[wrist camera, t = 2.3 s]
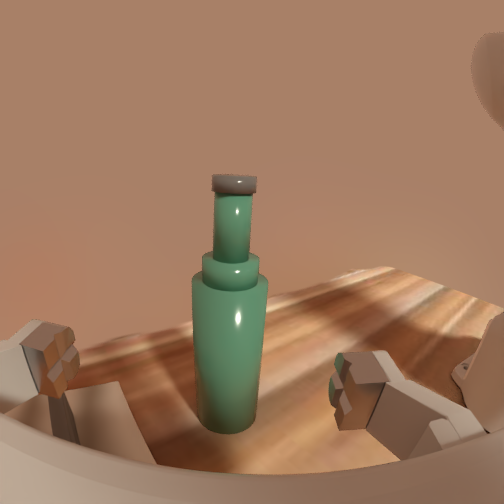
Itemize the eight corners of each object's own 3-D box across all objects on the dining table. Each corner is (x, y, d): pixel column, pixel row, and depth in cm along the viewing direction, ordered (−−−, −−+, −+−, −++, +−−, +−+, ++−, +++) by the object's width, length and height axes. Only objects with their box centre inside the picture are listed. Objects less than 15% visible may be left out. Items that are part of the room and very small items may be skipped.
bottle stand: (120, 389, 26) (110, 347, 24) (179, 505, 15) (169, 471, 13) (-47, 412, 15) (-70, 370, 13) (-52, 527, 4) (-95, 489, 2)
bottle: (235, 388, 28) (246, 174, 22) (267, 420, 24) (293, 180, 18) (188, 404, 25) (180, 173, 20) (215, 442, 21) (217, 178, 16)
